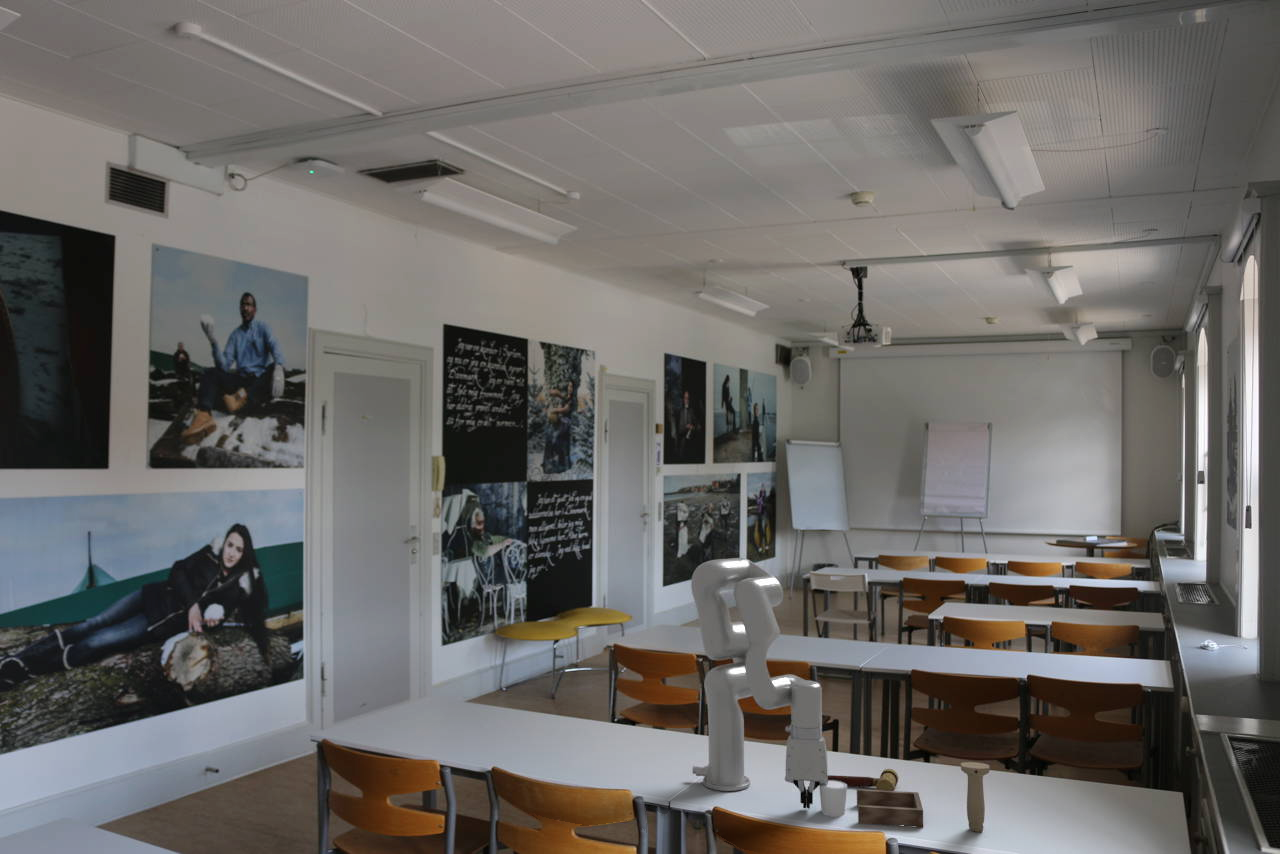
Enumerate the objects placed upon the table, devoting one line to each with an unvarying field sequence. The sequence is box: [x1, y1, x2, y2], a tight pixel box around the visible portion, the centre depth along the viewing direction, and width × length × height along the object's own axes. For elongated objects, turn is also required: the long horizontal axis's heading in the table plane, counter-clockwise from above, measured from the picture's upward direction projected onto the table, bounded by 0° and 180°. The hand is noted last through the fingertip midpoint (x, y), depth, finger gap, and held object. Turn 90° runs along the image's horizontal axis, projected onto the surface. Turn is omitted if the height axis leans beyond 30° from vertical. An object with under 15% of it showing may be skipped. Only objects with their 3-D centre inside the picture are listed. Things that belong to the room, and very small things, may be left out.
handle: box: [960, 761, 991, 833], centre depth 234 cm, size 5×6×15 cm
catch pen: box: [856, 788, 924, 828], centre depth 244 cm, size 15×13×4 cm
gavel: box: [827, 768, 899, 791], centre depth 266 cm, size 21×5×10 cm
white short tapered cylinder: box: [818, 780, 848, 817], centre depth 246 cm, size 7×7×7 cm
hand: (806, 806), depth 247 cm, fingers closed
